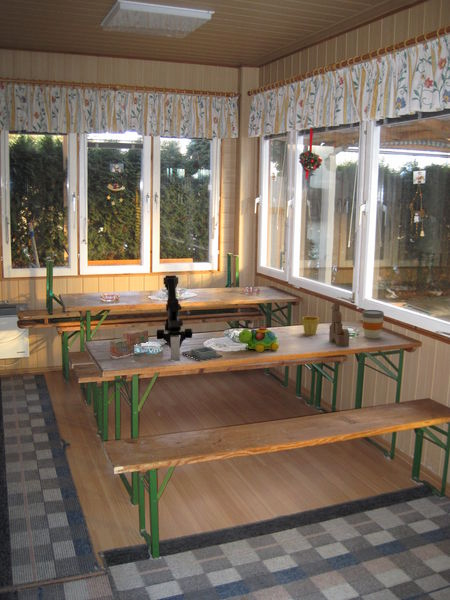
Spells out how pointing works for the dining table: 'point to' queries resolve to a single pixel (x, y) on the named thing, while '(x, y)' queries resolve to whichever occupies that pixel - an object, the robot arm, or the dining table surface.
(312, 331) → the plant pot
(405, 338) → the dining table surface
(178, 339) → the light grey rectangular block
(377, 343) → the dining table surface
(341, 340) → the wooden toy
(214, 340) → the dining table surface
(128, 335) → the stack of blocks
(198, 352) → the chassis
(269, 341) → the turtle toy
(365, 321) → the reusable coffee cup
